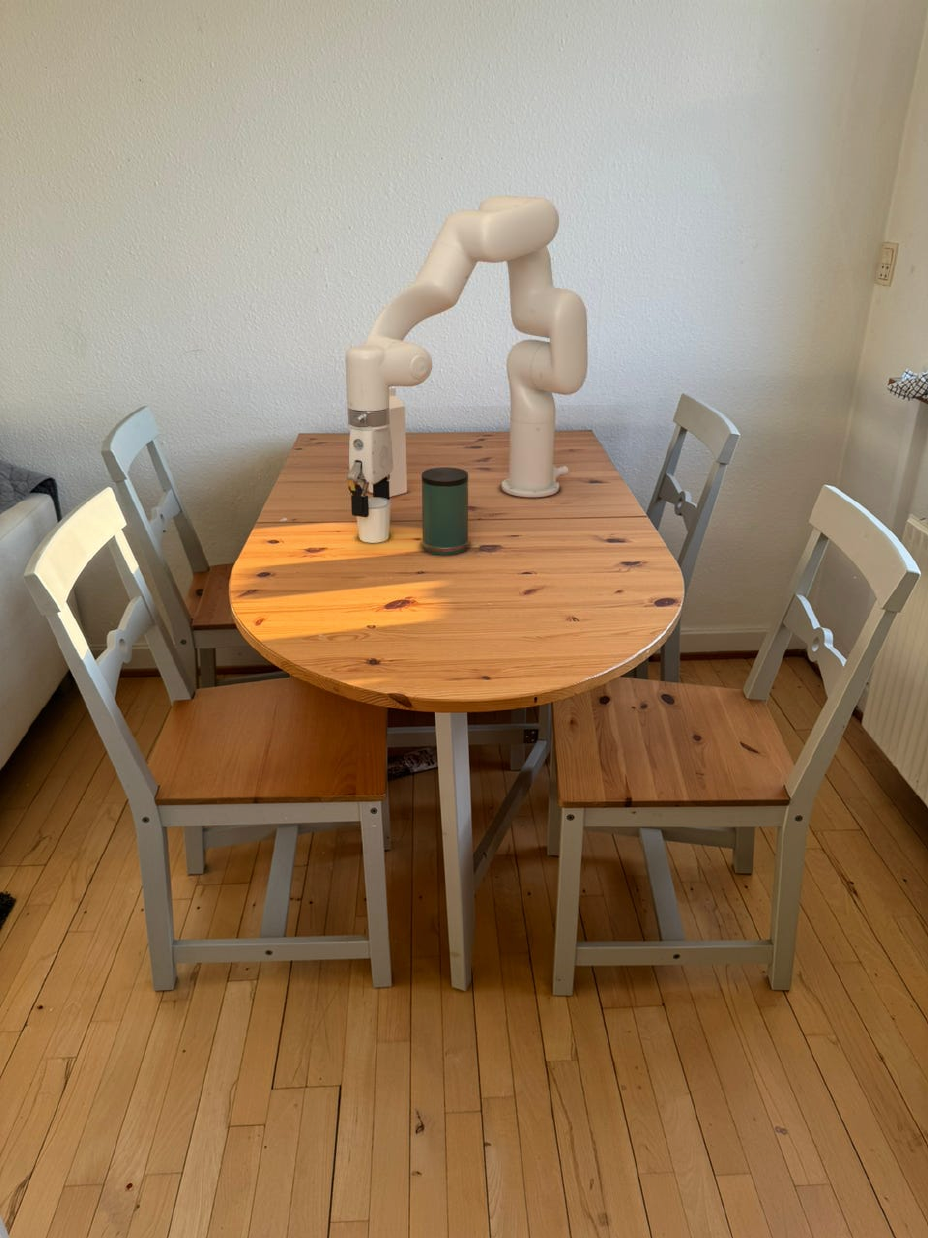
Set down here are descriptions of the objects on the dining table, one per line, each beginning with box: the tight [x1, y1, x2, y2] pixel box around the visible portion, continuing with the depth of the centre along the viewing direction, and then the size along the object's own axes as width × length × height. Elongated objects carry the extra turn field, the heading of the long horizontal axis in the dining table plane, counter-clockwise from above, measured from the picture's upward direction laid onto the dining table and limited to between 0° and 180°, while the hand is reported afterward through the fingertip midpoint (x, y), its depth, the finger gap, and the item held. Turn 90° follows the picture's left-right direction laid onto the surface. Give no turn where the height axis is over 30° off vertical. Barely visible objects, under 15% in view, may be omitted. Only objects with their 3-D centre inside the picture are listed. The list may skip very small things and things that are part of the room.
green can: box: [421, 466, 469, 556], centre depth 173 cm, size 8×8×14 cm
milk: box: [368, 387, 408, 498], centre depth 199 cm, size 6×6×22 cm
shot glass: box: [355, 496, 392, 544], centre depth 178 cm, size 7×7×7 cm
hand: (371, 507), depth 177 cm, fingers open, 9 cm apart
